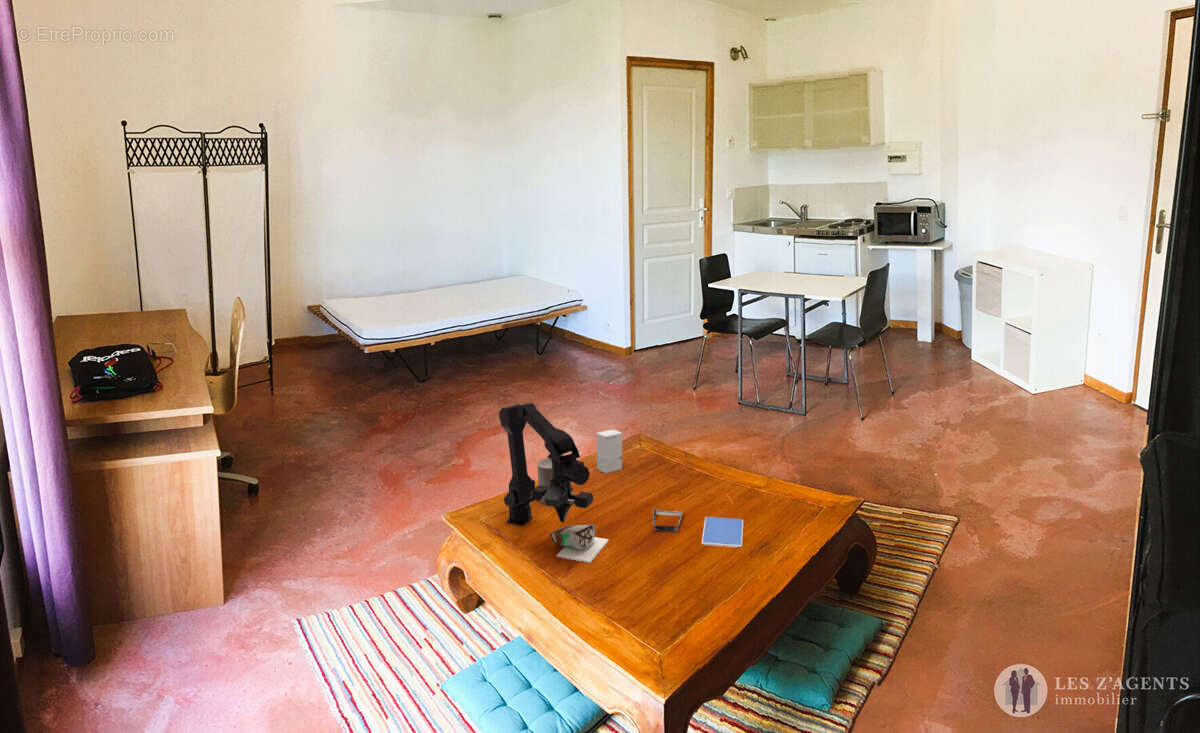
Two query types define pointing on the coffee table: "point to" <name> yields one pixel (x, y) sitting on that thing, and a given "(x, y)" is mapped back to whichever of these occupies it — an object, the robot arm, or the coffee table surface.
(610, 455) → the skincare box
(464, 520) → the coffee table surface
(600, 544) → the white flat rectangular board
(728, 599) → the coffee table surface
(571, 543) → the food container
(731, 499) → the coffee table surface
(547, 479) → the pillar candle
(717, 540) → the blue square panel
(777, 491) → the coffee table surface
